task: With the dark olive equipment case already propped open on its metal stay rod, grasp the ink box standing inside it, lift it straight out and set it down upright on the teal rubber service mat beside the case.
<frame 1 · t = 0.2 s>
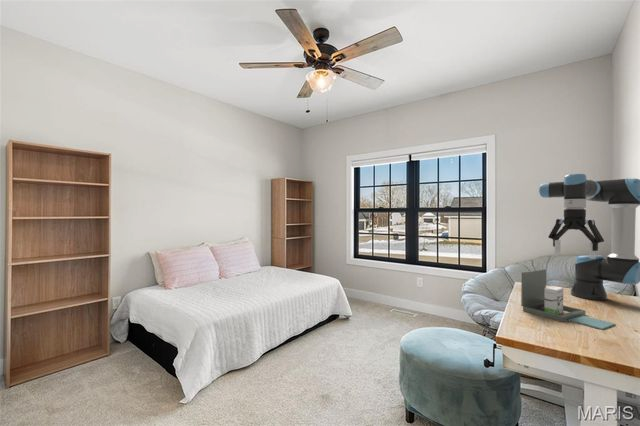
hand: (574, 256, 133), 27 cm above the table, fingers open, 13 cm apart
case: (553, 312, 138), on the table
ink box: (553, 313, 138), resting in case
mat: (591, 322, 126), on the table
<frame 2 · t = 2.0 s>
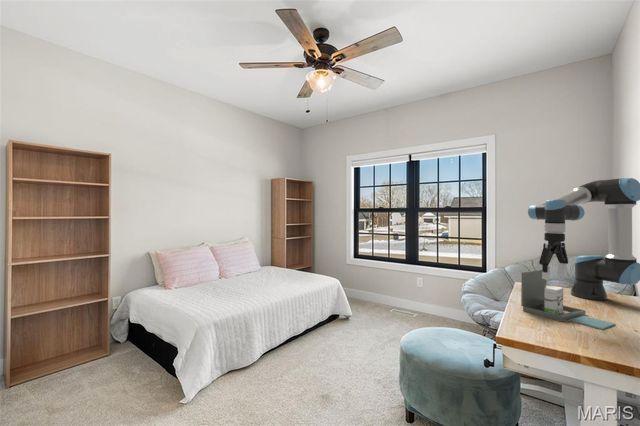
hand: (553, 278, 138), 16 cm above the table, fingers open, 13 cm apart
nothing on the table moved.
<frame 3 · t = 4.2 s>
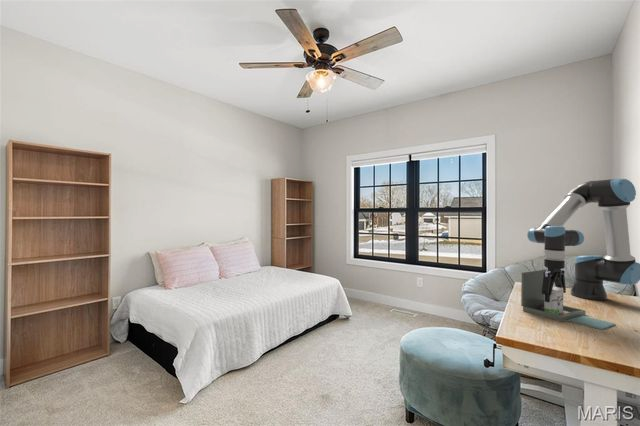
hand: (553, 307, 138), 2 cm above the table, fingers closed on ink box, 9 cm apart
ink box: (553, 313, 138), resting in case, touching gripper
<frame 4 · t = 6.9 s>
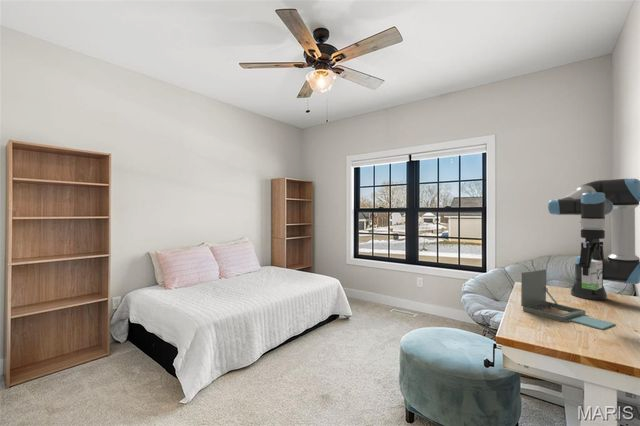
hand: (591, 282, 126), 17 cm above the table, fingers closed on ink box, 9 cm apart
ink box: (591, 288, 126), point 15 cm above the table, touching gripper
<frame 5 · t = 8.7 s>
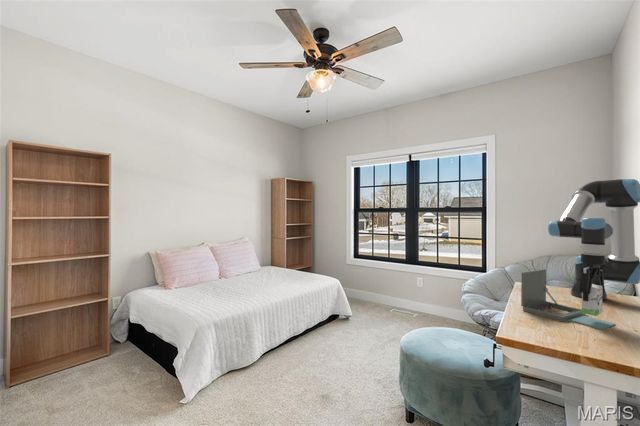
hand: (591, 307, 126), 7 cm above the table, fingers closed on ink box, 9 cm apart
ink box: (591, 313, 126), point 4 cm above the table, touching gripper
when the fingers open (4 cm above the table, at t = 10.1 s): ink box drops 1 cm, resting on mat.
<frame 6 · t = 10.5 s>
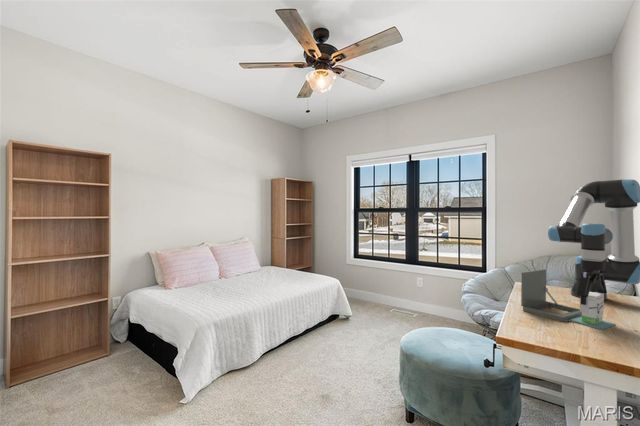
hand: (591, 310, 126), 5 cm above the table, fingers open, 13 cm apart
ink box: (592, 321, 126), resting on mat
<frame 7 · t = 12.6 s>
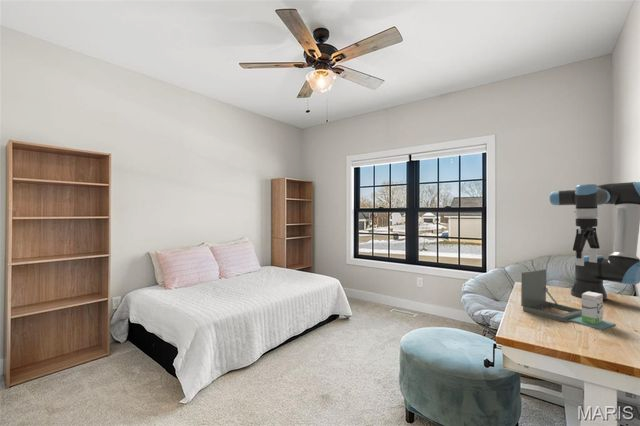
hand: (586, 263, 137), 23 cm above the table, fingers open, 13 cm apart
nothing on the table moved.
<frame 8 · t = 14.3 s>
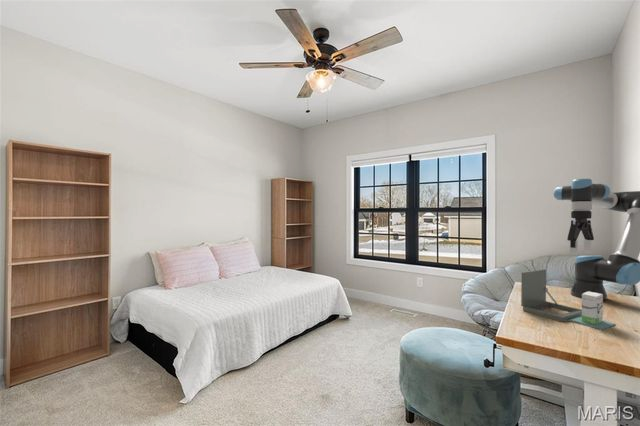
hand: (580, 253, 145), 27 cm above the table, fingers open, 13 cm apart
nothing on the table moved.
at the end: ink box inside the target area on the mat (0.2 cm from its centre), point 0.4 cm above the mat's base; ink box tilted 0°; the gripper is holding nothing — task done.
